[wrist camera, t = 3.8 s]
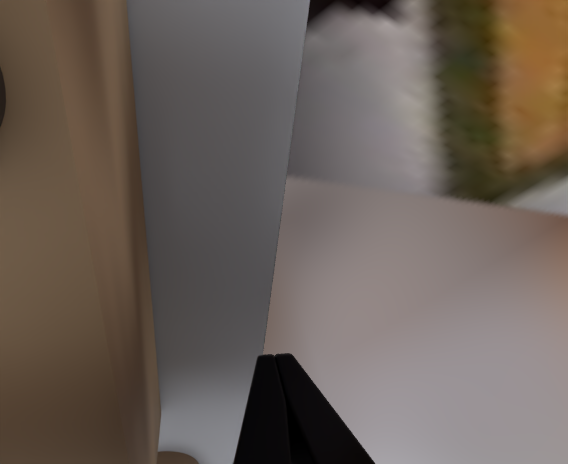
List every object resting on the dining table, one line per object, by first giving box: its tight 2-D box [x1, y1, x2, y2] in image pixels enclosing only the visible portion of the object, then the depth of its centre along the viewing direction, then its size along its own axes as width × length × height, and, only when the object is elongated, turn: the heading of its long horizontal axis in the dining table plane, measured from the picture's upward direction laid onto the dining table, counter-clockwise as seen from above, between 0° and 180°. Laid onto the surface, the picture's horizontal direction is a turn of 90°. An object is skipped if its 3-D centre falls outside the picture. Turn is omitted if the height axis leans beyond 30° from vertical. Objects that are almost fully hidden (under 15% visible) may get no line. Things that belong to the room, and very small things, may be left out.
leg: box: [0, 0, 161, 464], centre depth 6 cm, size 11×2×4 cm, turn 173°
